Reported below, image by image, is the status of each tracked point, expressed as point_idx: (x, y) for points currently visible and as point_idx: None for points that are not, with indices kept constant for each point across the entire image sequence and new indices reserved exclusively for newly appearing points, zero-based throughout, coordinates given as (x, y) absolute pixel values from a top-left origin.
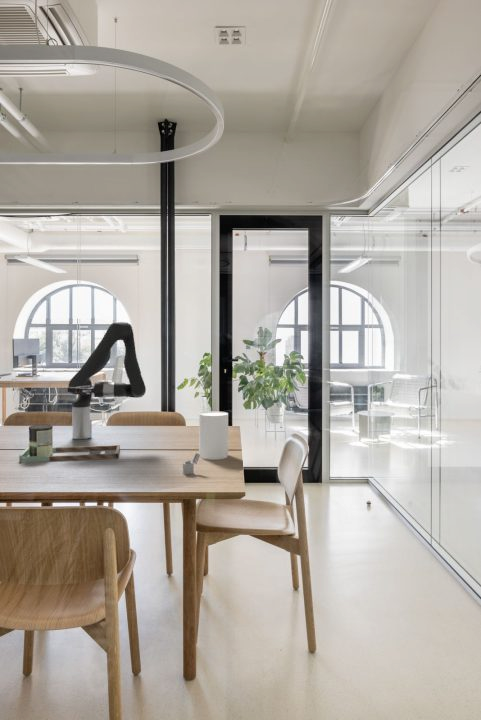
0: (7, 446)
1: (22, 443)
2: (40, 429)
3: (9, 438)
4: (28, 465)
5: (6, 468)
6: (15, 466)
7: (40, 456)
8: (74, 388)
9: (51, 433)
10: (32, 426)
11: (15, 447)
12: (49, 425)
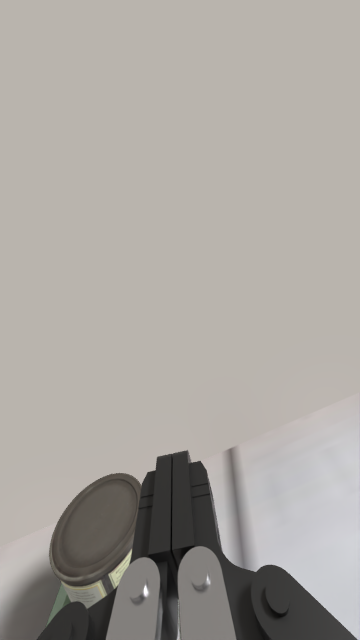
0: (258, 438)
1: (300, 454)
2: (53, 535)
3: (335, 408)
4: (27, 593)
5: (39, 530)
6: (44, 548)
7: (53, 616)
8: (146, 545)
9: (79, 600)
10: (121, 481)
11: (251, 457)
12: (113, 550)
